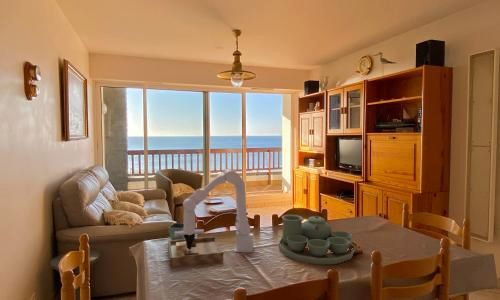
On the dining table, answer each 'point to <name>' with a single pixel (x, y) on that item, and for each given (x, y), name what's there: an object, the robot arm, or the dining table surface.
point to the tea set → (314, 241)
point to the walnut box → (195, 252)
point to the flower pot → (174, 228)
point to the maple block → (181, 247)
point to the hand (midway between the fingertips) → (189, 248)
